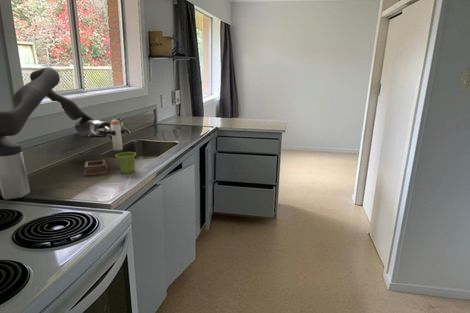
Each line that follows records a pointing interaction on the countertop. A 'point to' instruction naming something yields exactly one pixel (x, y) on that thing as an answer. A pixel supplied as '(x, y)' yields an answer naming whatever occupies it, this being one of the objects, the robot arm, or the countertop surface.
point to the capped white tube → (116, 138)
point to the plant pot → (126, 161)
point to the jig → (95, 167)
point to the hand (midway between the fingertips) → (119, 132)
